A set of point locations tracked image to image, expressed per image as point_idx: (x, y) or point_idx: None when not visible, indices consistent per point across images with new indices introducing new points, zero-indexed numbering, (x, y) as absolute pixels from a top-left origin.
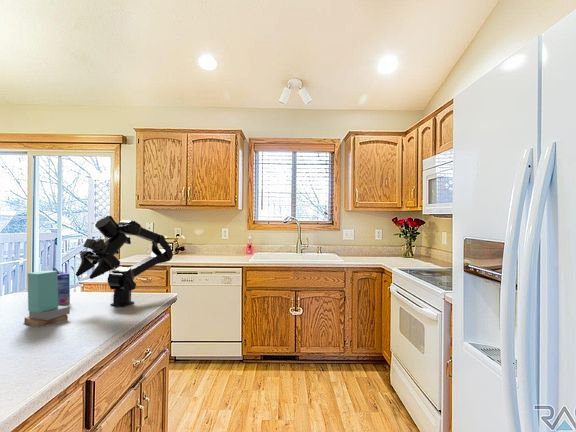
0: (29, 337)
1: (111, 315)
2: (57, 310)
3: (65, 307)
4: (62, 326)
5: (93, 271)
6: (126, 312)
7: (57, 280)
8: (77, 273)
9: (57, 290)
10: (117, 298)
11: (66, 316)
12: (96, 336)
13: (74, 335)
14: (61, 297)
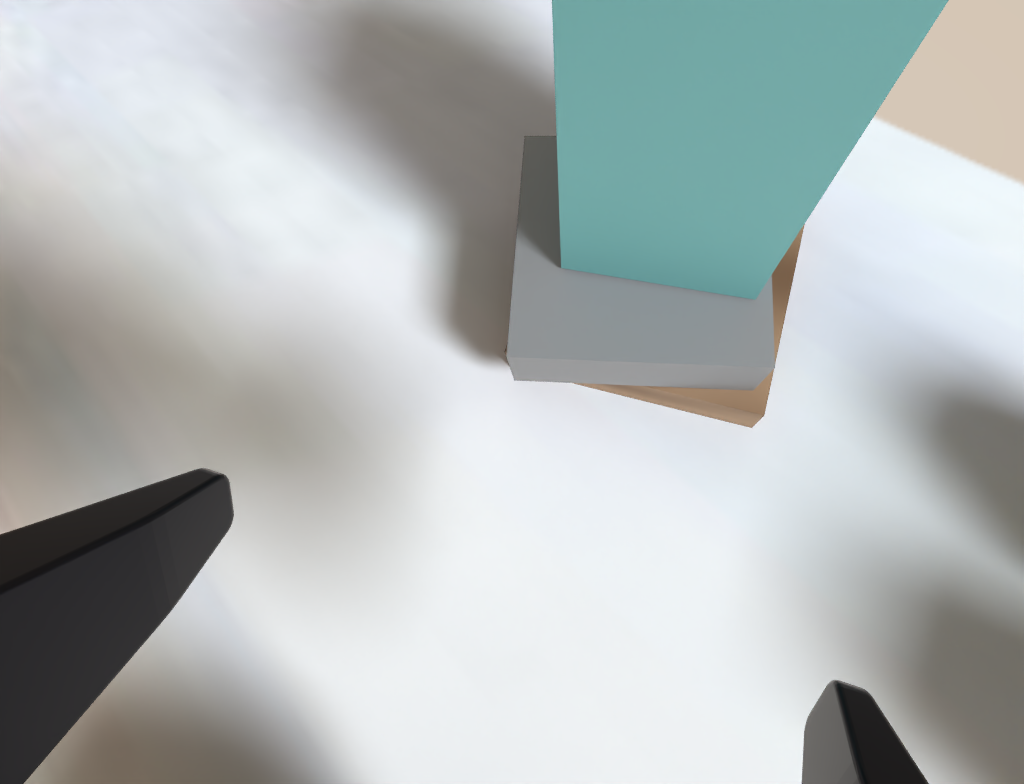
0: (445, 41)
1: (247, 621)
2: (517, 232)
3: (517, 316)
4: (425, 249)
5: (61, 539)
6: (164, 766)
7: (555, 19)
8: (839, 725)
9: (558, 141)
10: None
11: (507, 343)
12: (67, 186)
13: (207, 153)
14: None
